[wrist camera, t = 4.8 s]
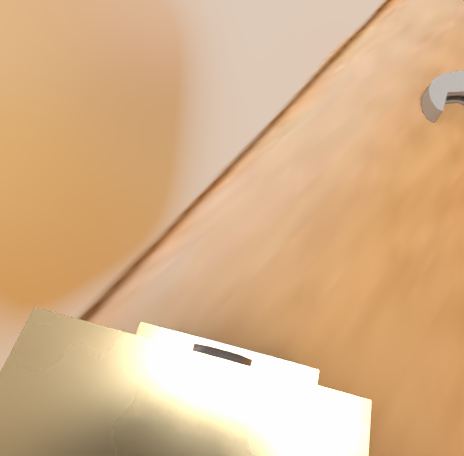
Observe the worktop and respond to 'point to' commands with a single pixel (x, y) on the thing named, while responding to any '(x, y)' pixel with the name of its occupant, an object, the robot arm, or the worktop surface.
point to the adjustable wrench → (443, 94)
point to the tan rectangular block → (165, 397)
